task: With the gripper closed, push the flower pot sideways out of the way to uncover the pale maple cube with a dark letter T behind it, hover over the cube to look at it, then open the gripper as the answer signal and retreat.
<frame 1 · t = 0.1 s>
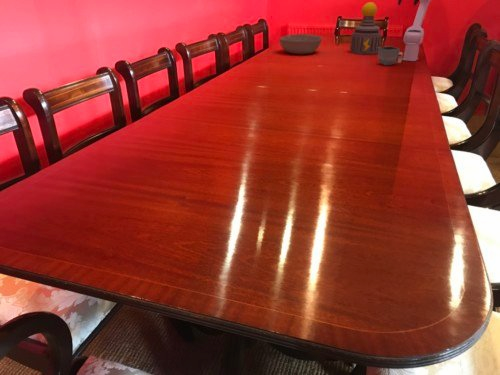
hand: (406, 3, 199), 32 cm above the table, tool tilted 50°, fingers open, 7 cm apart
letter cube: (396, 61, 230), on the table
bowl: (299, 53, 261), on the table
flower pot: (386, 64, 223), on the table
decorative lamp: (364, 52, 259), on the table
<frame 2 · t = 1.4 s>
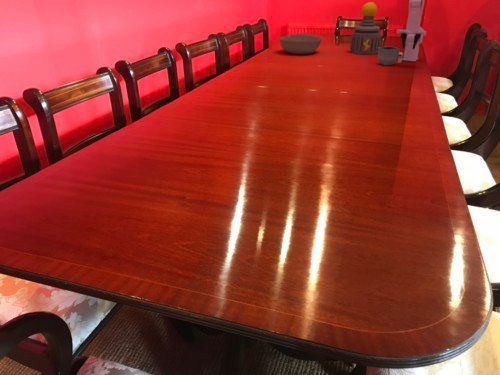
hand: (408, 48, 213), 9 cm above the table, tool pointing down, fingers open, 5 cm apart
nothing on the table moved.
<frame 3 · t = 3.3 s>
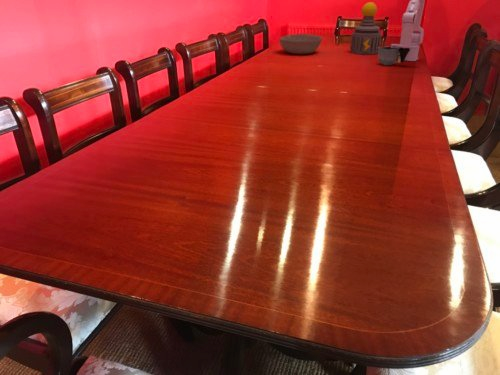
hand: (402, 62, 218), 2 cm above the table, tool pointing down, fingers closed
flower pot: (386, 64, 223), on the table, touching gripper
everything else where it was.
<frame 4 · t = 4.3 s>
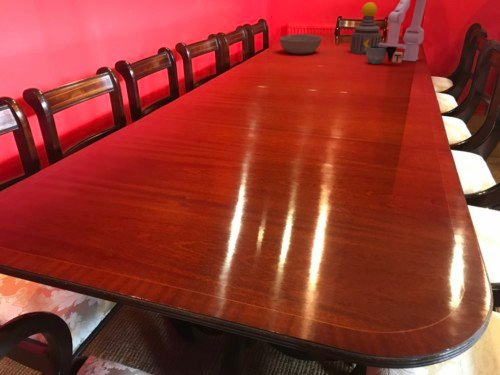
hand: (389, 61, 221), 2 cm above the table, tool pointing down, fingers closed
flower pot: (374, 63, 226), on the table, touching gripper
everything else where it was.
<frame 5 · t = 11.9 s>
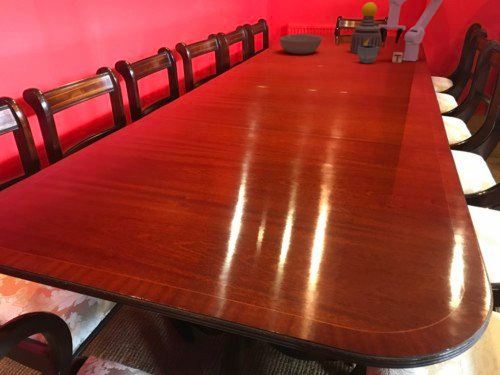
hand: (389, 42, 226), 10 cm above the table, tool pointing down, fingers open, 7 cm apart
flower pot: (366, 63, 228), on the table
everything else where it was.
at the end: flower pot inside the target area (0.9 cm from its centre), on the table; flower pot tilted 0°; letter cube moved 0.1 cm from its start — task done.
